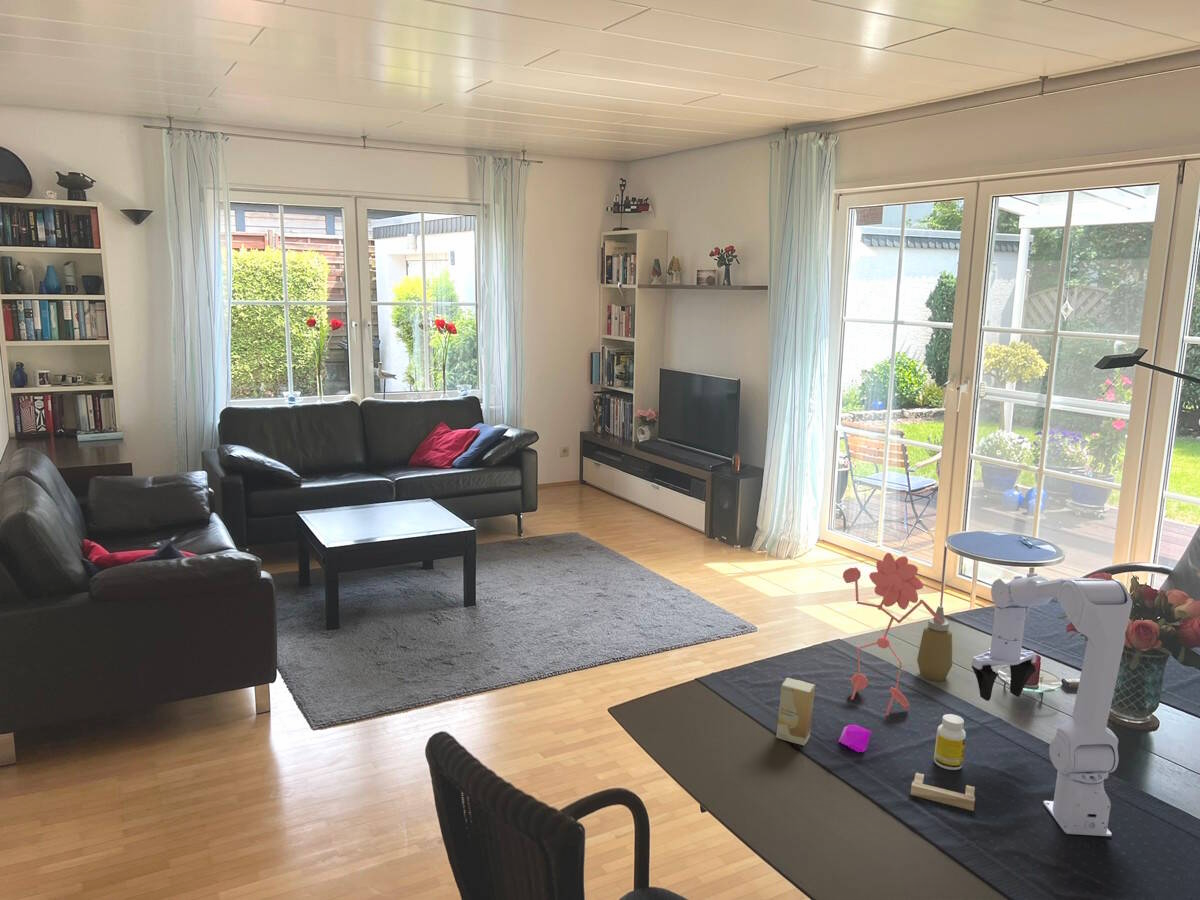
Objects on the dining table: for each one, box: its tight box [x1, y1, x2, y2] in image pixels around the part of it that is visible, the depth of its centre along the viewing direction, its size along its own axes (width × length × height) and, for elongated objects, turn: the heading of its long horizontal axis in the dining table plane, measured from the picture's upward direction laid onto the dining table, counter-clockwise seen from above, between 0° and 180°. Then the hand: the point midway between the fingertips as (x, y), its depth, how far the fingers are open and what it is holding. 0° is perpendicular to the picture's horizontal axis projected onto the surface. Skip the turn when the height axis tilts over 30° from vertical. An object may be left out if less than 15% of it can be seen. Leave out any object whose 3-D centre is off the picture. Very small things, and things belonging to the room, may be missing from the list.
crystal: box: [838, 724, 872, 753], centre depth 182 cm, size 5×5×5 cm
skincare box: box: [776, 677, 816, 746], centre depth 184 cm, size 6×4×12 cm
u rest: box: [910, 772, 976, 812], centre depth 165 cm, size 5×11×2 cm, turn 64°
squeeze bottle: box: [916, 605, 953, 682], centre depth 214 cm, size 8×8×18 cm
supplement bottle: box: [933, 713, 967, 771], centre depth 176 cm, size 5×5×10 cm
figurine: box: [842, 552, 943, 727], centre depth 200 cm, size 15×26×35 cm, turn 40°
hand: (1000, 696), depth 184 cm, fingers open, 7 cm apart
